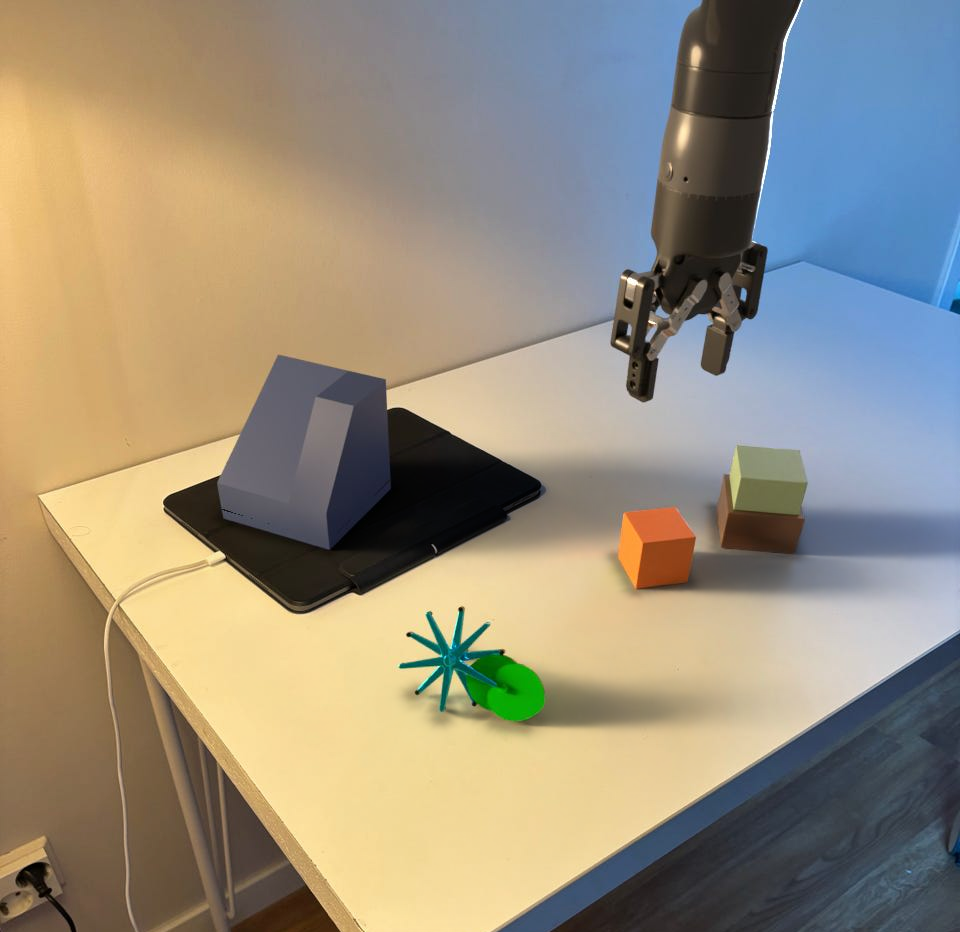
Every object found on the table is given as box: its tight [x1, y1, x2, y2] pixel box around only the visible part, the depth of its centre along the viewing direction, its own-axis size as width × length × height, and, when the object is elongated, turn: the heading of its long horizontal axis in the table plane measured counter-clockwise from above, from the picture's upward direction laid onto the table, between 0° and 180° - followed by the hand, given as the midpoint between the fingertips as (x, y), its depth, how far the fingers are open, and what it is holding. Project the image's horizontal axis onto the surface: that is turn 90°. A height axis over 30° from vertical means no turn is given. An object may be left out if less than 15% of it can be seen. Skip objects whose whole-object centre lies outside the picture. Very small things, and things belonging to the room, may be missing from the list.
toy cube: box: [617, 506, 697, 590], centre depth 89 cm, size 5×5×5 cm
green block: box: [729, 444, 809, 515], centre depth 92 cm, size 6×6×4 cm
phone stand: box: [216, 354, 392, 551], centre depth 94 cm, size 12×12×12 cm
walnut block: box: [716, 473, 806, 555], centre depth 95 cm, size 7×7×4 cm
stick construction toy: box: [398, 605, 546, 722], centre depth 78 cm, size 12×7×8 cm
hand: (677, 384), depth 82 cm, fingers open, 8 cm apart
